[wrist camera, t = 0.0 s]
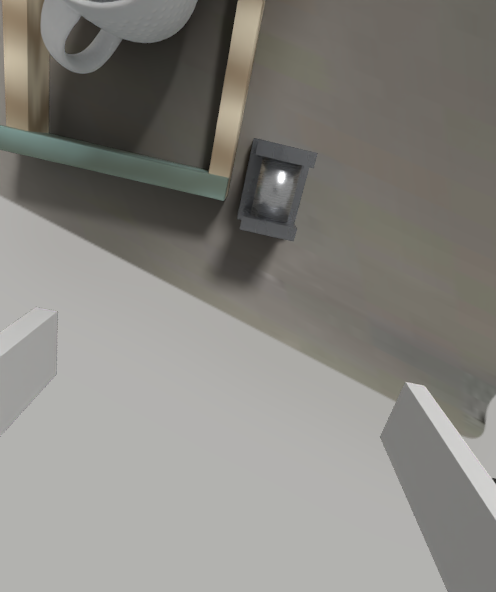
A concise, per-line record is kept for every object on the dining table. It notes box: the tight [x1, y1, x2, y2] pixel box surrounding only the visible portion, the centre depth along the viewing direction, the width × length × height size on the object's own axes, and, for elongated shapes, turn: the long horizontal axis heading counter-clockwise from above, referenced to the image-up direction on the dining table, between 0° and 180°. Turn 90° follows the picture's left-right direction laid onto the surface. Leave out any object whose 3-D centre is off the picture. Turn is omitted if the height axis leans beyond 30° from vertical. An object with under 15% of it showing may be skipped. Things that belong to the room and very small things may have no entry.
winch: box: [237, 138, 318, 241], centre depth 34 cm, size 8×6×8 cm
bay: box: [0, 0, 265, 201], centre depth 31 cm, size 21×21×5 cm
